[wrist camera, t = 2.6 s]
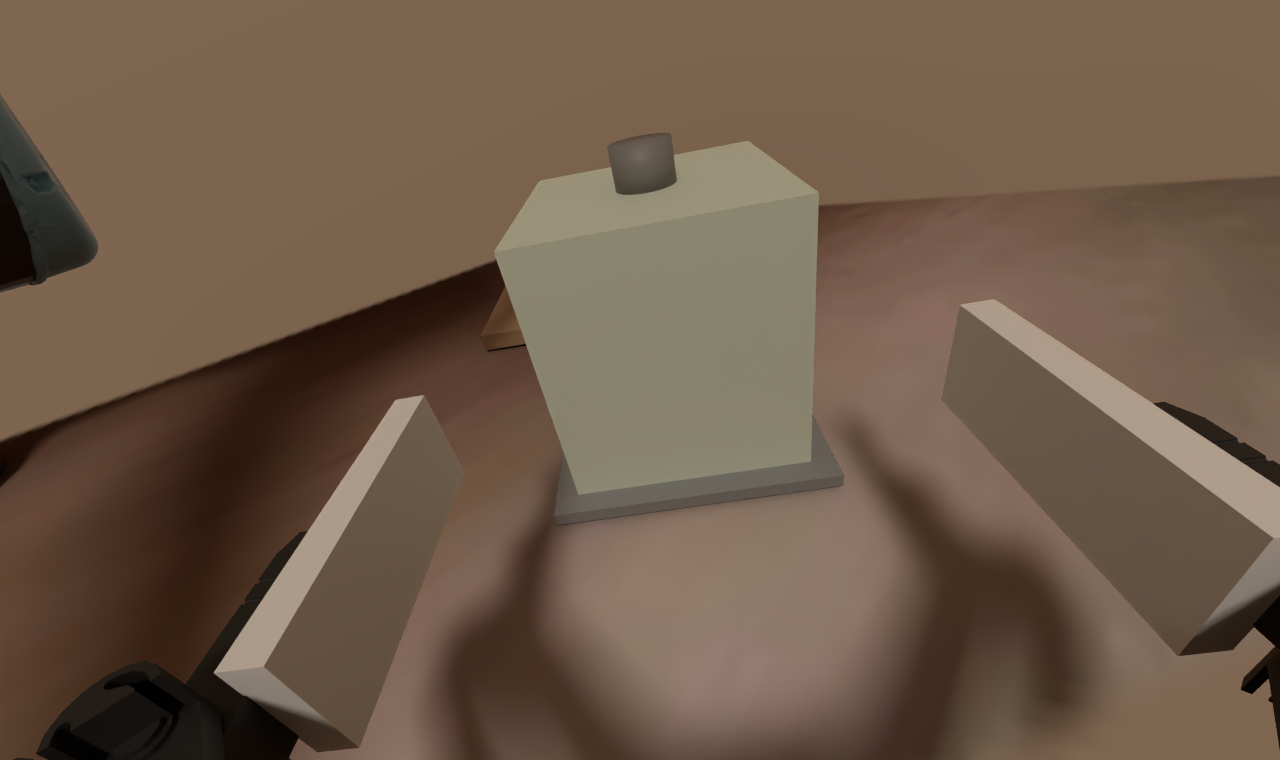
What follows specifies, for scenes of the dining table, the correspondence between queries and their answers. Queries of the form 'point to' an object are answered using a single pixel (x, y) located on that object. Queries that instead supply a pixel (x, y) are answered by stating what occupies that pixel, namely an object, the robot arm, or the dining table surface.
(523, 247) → the knobbed cream cube
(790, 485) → the coaster
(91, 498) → the dining table surface
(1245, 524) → the robot arm
